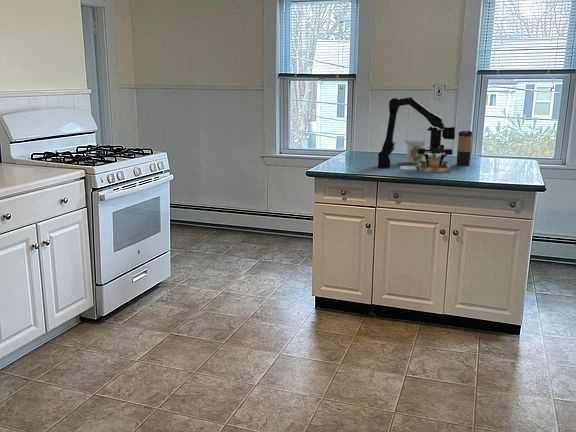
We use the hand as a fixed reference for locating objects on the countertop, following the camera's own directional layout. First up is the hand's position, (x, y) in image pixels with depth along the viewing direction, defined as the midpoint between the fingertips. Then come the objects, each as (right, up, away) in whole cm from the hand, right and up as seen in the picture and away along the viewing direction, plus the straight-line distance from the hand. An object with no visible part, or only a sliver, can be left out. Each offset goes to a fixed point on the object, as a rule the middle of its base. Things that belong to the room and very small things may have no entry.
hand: (433, 166), depth 320 cm
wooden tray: (0, -2, 0) cm, 2 cm away
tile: (-14, -1, +3) cm, 14 cm away
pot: (0, -1, 0) cm, 1 cm away
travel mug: (+21, +2, +15) cm, 26 cm away
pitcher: (-4, +4, +22) cm, 23 cm away
